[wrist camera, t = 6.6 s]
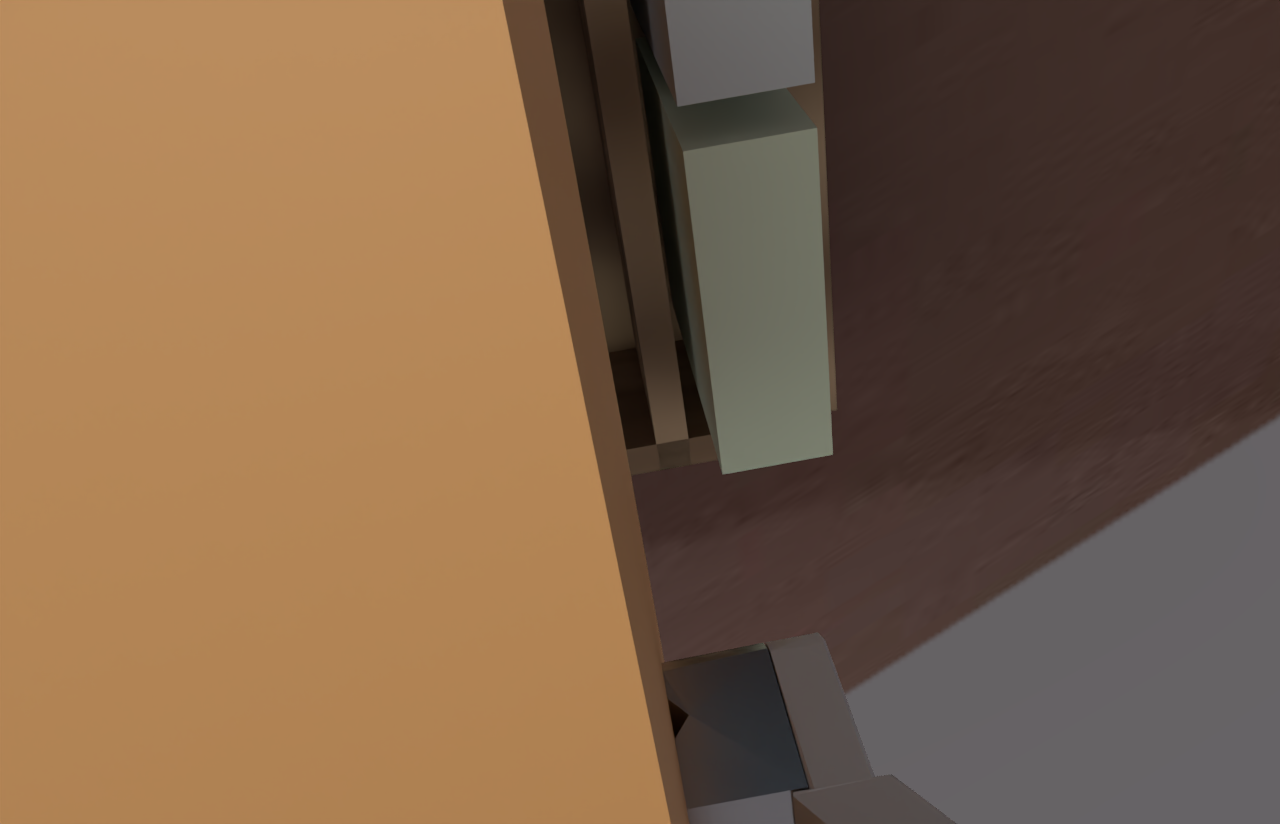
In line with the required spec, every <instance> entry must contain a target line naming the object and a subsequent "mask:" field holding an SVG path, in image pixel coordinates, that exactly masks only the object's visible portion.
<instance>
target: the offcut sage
mask: <svg viewBox="0 0 1280 824" xmlns="http://www.w3.org/2000/svg"><path fill="white" fill-rule="evenodd" d="M635 41H636V48H637V55H638V62H639V69H640V76H641V84H642V91H643V98H644V105H645V112H646V119H647V126H648V134H649V141H650V148H651V155H652V162H653V169H654V176H655V184H656V191H657V198H658V205H659V212H660V219H661V226H662V234H663V241H664V248H665V255H666V262H667V269H668V276H669V283H670V291H671V298H672V304H673V307H674V311H675V314H676V318H677V321H678V324H679V328H680V331H681V335H682V338H683V341H684V345H685V348H686V352H687V355H688V359H689V362H690V365H691V369H692V372H693V376H694V379H695V382H696V386H697V389H698V393H699V396H700V399H701V403H702V406H703V410H704V413H705V416H706V420H707V423H708V427H709V430H710V433H711V437H712V440H713V444H714V447H715V451H716V454H717V457H718V461H719V464H720V468H721V471H722V474H728V473H734V472H740V471H745V470H751V469H756V468H762V467H767V466H773V465H778V464H784V463H789V462H795V461H800V460H806V459H811V458H817V457H823V456H828V455H833V446H832V425H831V404H830V383H829V363H828V342H827V321H826V300H825V279H824V258H823V238H822V217H821V196H820V175H819V154H818V133H817V127H816V126H815V124H814V123H813V122H812V121H811V119H810V118H809V117H808V115H807V114H806V113H805V112H804V110H803V109H802V108H801V106H800V105H799V104H798V103H797V101H796V100H795V99H794V97H793V96H792V95H791V94H790V92H789V91H788V90H787V89H786V88H782V89H776V90H770V91H765V92H759V93H753V94H748V95H742V96H736V97H731V98H725V99H719V100H713V101H708V102H702V103H696V104H691V105H685V106H679V107H677V105H676V102H675V100H674V98H673V96H672V94H671V92H670V89H669V87H668V85H667V83H666V81H665V78H664V76H663V74H662V72H661V70H660V68H659V65H658V63H657V61H656V59H655V57H654V54H653V52H652V50H651V48H650V46H649V44H648V41H647V39H646V37H641V38H636V39H635Z"/></svg>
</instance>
